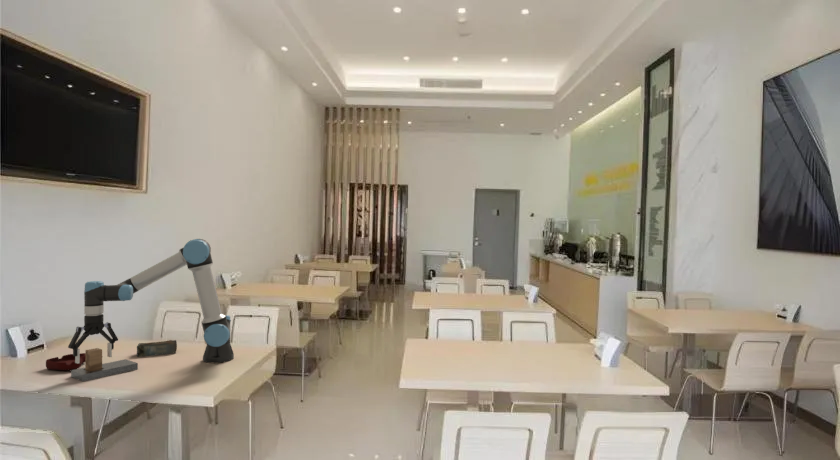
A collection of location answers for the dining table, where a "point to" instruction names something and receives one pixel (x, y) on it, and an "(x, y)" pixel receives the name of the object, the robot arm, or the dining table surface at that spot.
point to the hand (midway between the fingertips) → (93, 359)
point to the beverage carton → (156, 348)
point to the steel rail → (105, 370)
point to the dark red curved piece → (65, 362)
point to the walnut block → (93, 359)
